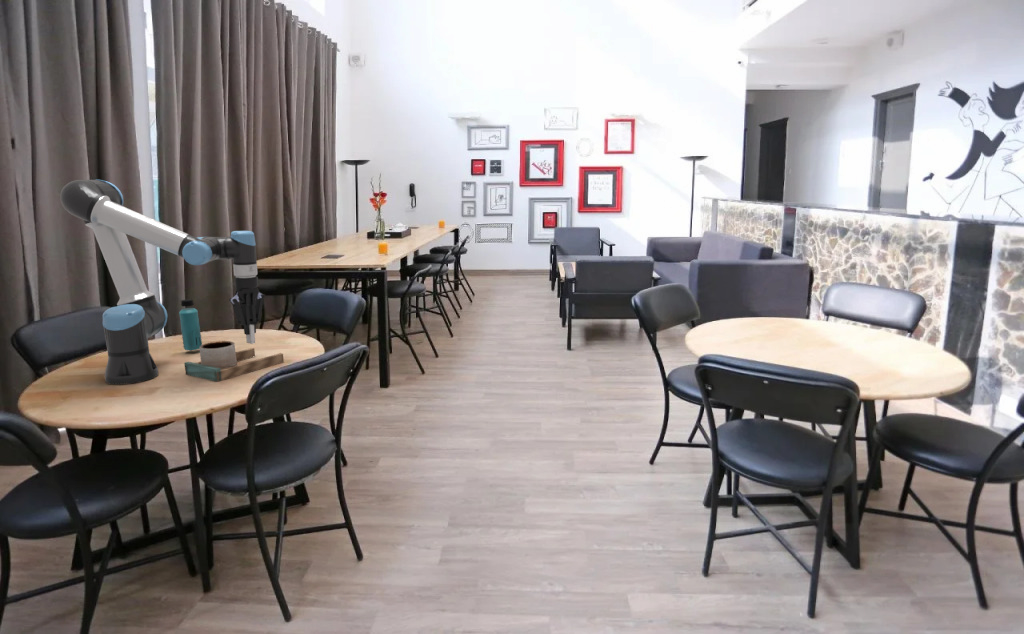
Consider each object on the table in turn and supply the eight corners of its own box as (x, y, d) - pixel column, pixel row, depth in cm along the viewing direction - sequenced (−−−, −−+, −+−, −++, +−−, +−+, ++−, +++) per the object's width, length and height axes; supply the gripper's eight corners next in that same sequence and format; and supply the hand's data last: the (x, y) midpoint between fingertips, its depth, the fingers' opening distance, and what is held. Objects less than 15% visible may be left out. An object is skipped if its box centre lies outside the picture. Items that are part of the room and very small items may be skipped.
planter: (195, 374, 218) (192, 346, 216) (225, 366, 227) (222, 339, 225) (214, 379, 212) (211, 350, 210) (244, 370, 221) (241, 343, 219)
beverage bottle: (198, 354, 243) (191, 301, 239) (180, 354, 243) (173, 301, 239) (206, 349, 250) (200, 298, 245) (189, 349, 250) (182, 298, 246)
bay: (217, 381, 209) (216, 369, 208) (185, 374, 218) (184, 362, 217) (283, 361, 231) (282, 350, 230) (252, 355, 239) (251, 345, 239)
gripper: (236, 279, 218) (241, 348, 223) (269, 275, 229) (273, 340, 234) (222, 277, 222) (227, 345, 227) (255, 273, 233) (259, 337, 237)
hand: (250, 342), depth 230 cm, fingers closed
